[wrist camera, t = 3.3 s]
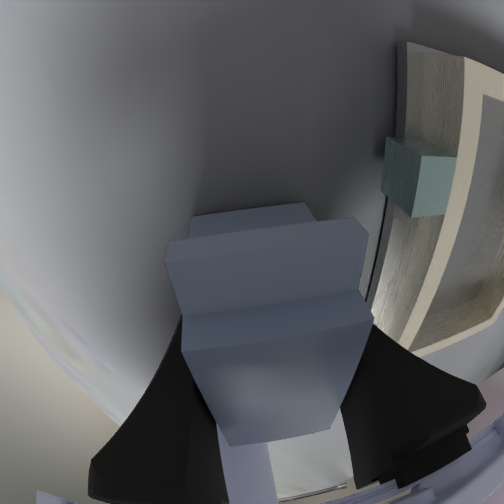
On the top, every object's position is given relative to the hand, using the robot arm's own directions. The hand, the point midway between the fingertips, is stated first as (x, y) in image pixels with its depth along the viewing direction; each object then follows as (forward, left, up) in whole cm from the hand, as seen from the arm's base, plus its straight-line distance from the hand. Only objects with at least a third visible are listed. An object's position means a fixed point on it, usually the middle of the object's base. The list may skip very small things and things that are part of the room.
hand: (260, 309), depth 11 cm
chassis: (+2, -11, -1) cm, 11 cm away
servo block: (0, 0, -1) cm, 1 cm away
